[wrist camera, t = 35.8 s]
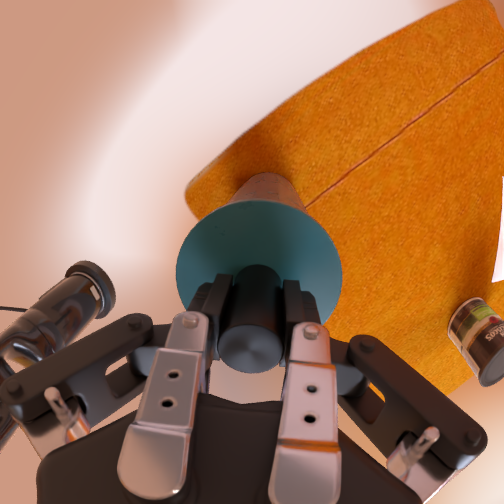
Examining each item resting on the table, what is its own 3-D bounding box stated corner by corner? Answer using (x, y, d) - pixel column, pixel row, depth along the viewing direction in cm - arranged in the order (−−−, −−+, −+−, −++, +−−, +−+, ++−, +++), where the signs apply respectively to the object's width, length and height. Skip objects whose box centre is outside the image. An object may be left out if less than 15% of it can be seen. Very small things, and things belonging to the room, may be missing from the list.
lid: (185, 330, 17) (153, 403, 11) (181, 191, 14) (121, 222, 8) (322, 342, 17) (337, 421, 11) (349, 205, 13) (399, 245, 8)
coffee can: (452, 302, 40) (493, 349, 26) (489, 292, 38) (530, 330, 25) (442, 346, 43) (472, 395, 30) (478, 334, 42) (510, 375, 29)
